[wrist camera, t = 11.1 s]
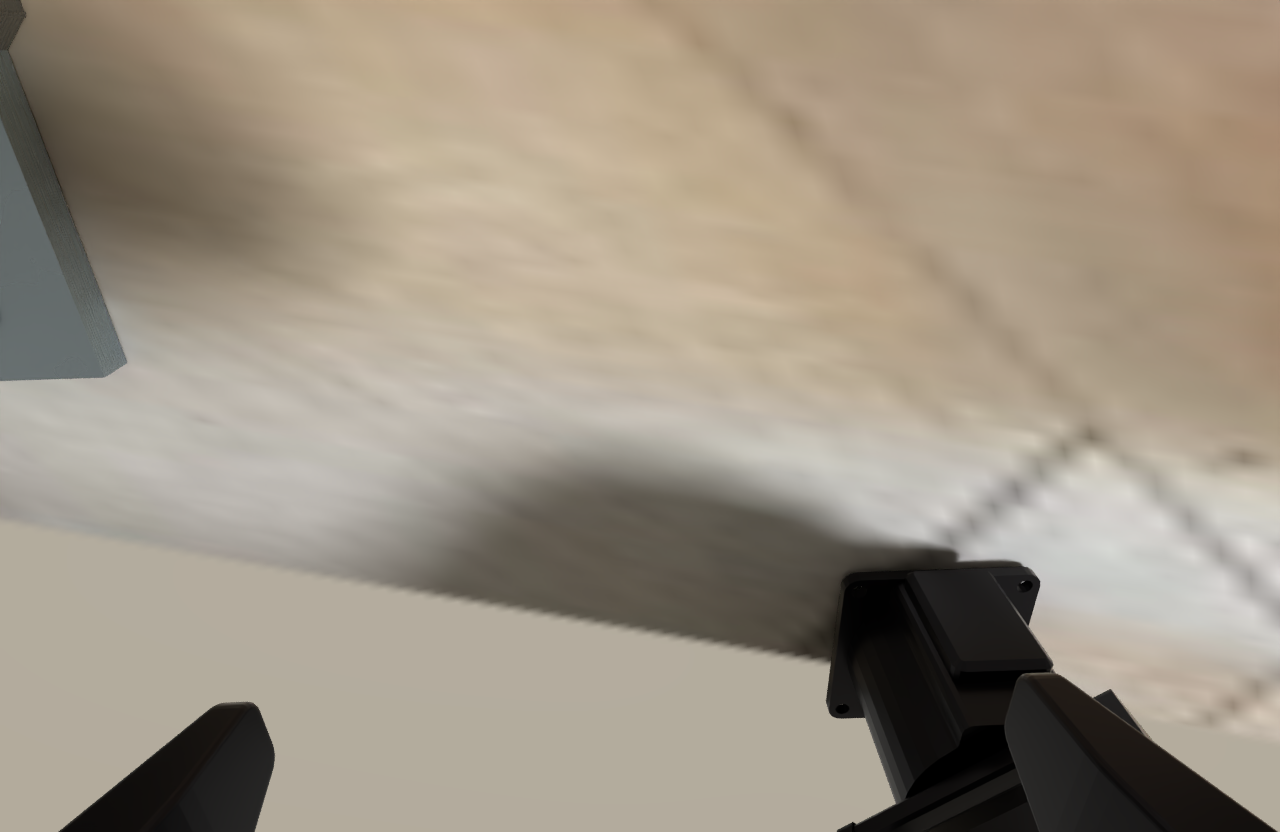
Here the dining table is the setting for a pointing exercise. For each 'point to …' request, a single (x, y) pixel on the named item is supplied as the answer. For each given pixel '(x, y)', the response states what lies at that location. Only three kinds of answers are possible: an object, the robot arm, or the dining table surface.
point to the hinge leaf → (42, 252)
